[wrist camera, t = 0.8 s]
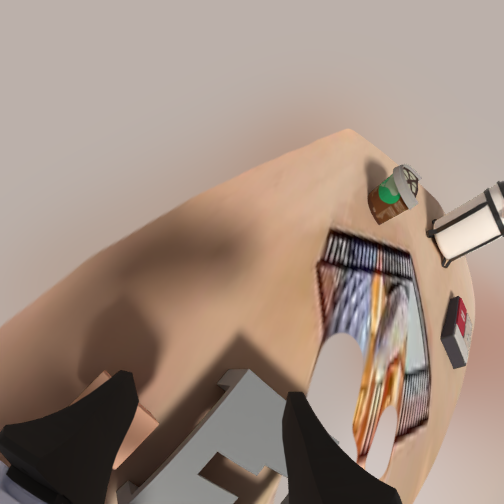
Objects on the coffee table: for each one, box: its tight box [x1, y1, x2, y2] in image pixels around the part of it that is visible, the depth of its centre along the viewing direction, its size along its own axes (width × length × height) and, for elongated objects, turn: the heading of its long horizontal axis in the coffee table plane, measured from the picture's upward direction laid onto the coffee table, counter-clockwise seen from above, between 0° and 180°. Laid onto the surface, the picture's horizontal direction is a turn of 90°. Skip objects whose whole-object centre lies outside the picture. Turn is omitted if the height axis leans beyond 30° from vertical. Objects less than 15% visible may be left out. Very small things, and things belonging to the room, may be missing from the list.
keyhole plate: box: [116, 369, 339, 504], centre depth 19 cm, size 18×14×4 cm
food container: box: [368, 164, 422, 225], centre depth 48 cm, size 12×6×10 cm, turn 140°
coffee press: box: [426, 181, 504, 268], centre depth 52 cm, size 17×16×30 cm
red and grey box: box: [441, 296, 472, 369], centre depth 51 cm, size 11×4×15 cm
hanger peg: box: [69, 370, 159, 469], centre depth 16 cm, size 5×5×8 cm
